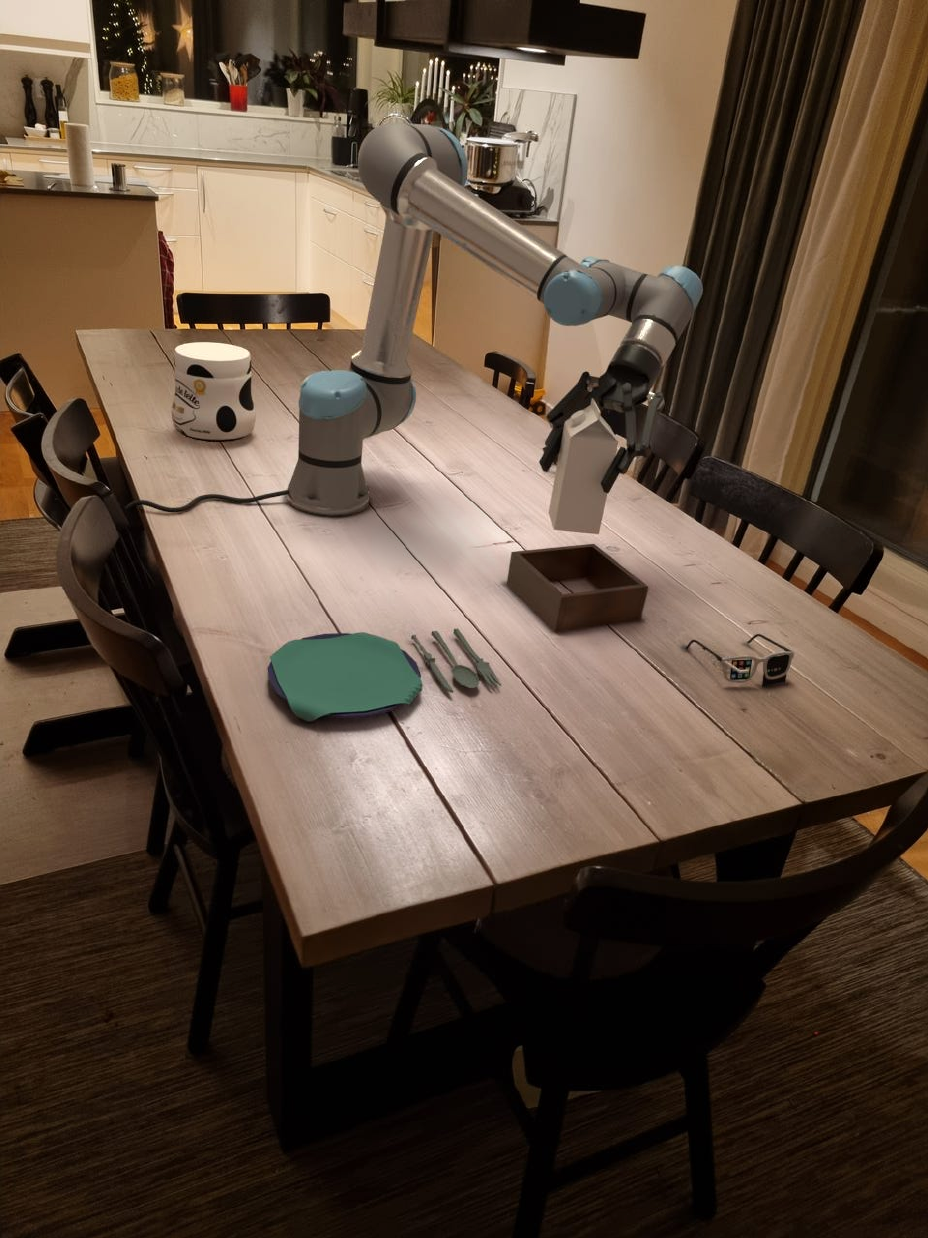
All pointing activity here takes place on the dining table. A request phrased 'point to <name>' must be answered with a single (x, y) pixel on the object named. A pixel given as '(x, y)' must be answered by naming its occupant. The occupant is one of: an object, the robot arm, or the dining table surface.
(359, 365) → the robot arm
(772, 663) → the smart glasses
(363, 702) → the cutlery set
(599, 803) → the dining table surface
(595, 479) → the milk carton
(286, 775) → the dining table surface
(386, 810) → the dining table surface
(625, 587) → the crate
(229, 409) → the milk container
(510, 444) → the dining table surface
